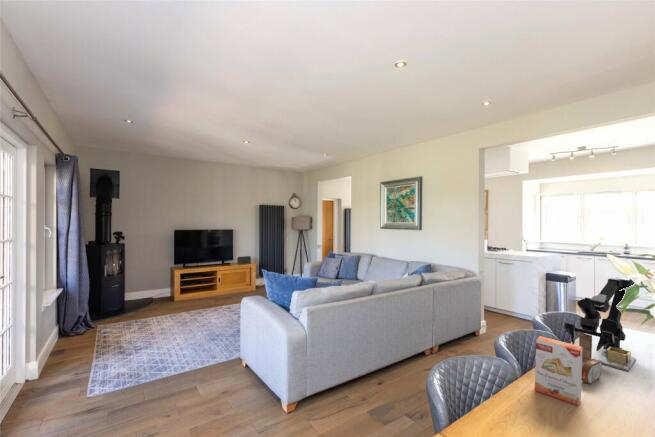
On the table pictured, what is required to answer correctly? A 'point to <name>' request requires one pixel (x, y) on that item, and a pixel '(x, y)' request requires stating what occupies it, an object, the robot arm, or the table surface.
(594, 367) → the tin
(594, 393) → the table surface
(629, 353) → the base plate
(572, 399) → the cracker box
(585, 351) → the brown square block
